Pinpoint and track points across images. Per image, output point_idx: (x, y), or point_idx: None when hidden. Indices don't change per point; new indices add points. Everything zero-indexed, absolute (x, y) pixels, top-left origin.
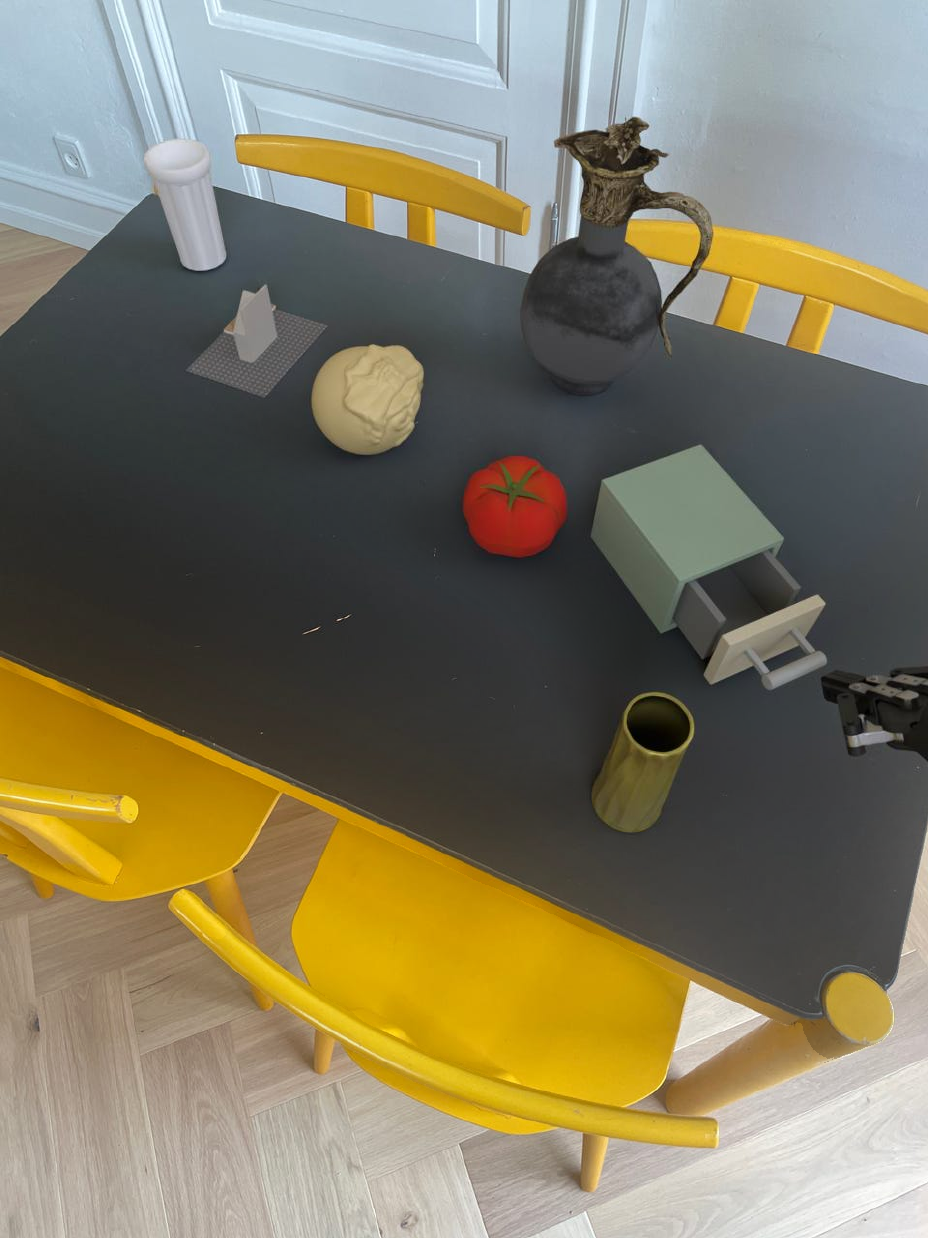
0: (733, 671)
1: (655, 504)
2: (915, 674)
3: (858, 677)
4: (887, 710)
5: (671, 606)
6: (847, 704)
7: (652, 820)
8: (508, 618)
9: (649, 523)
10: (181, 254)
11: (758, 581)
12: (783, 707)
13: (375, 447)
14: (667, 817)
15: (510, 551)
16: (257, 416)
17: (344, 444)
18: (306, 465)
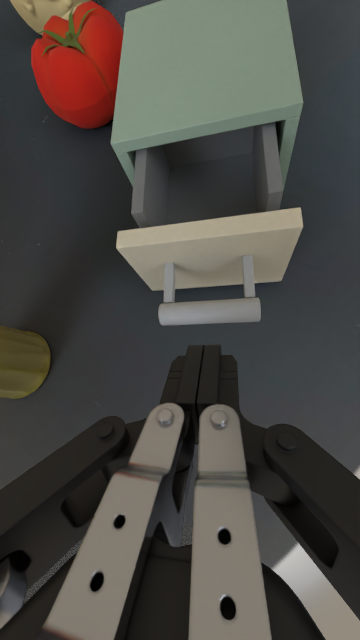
0: (176, 285)
1: (159, 42)
2: (314, 505)
3: (210, 390)
4: None
5: None
6: (56, 470)
7: (15, 396)
8: (53, 181)
9: (134, 66)
10: None
11: (258, 183)
12: (216, 343)
13: (39, 21)
14: (40, 397)
15: (66, 116)
16: (18, 13)
17: (24, 19)
18: (19, 47)
